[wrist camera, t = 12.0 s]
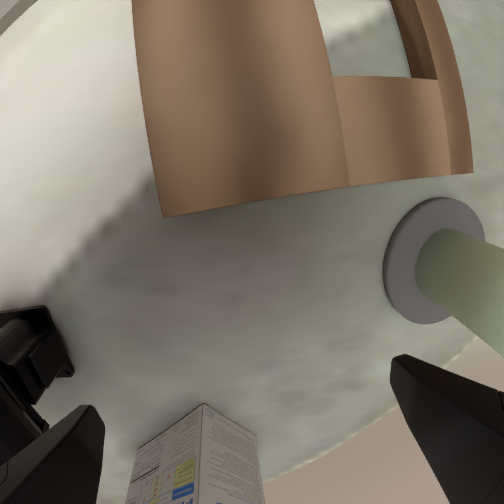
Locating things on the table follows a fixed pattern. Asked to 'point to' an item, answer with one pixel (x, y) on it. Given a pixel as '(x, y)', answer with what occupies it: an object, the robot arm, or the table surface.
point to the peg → (465, 282)
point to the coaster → (408, 247)
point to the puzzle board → (288, 103)
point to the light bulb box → (198, 464)
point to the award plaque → (12, 11)
